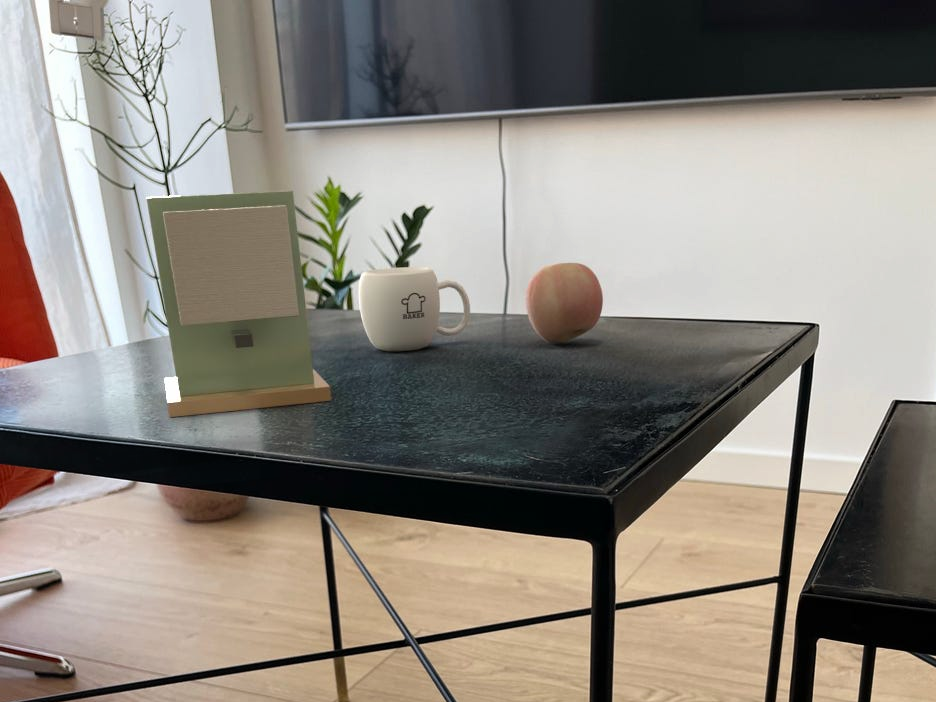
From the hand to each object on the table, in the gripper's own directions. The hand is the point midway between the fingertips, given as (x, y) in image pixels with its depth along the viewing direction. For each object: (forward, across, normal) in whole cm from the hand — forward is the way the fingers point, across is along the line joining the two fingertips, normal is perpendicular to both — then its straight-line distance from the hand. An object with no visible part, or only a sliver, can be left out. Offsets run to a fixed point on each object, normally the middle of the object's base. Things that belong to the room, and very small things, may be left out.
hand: (78, 37), depth 62 cm
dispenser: (+26, -11, -11) cm, 30 cm away
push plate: (+18, -10, -6) cm, 22 cm away
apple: (+24, -43, -26) cm, 56 cm away
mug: (+27, -29, -32) cm, 51 cm away
